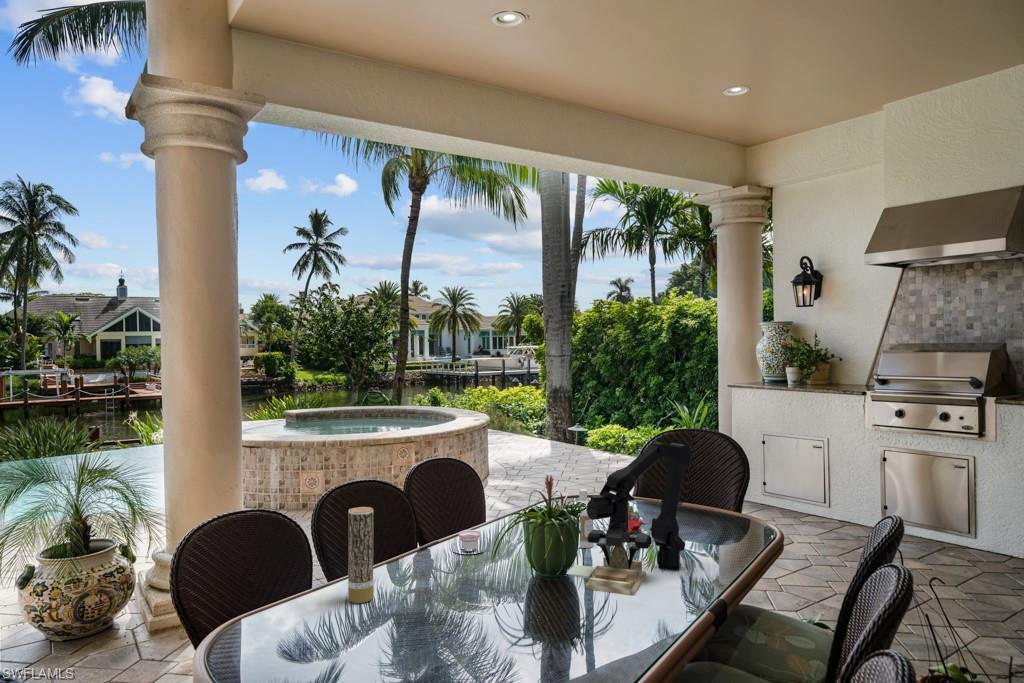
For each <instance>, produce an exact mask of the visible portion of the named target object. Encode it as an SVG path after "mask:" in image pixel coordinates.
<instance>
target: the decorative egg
mask: <svg viewBox="0 0 1024 683" xmlns="http://www.w3.org/2000/svg"><path fill="white" fill-rule="evenodd" d="M610 556H611V557H610V567H612V568H621V569H629V565H628V564H629V555H628V552H627V550H626V548H625V546H624V545H622V546H621V547H617V546H613V548H612V551H611V552H610Z"/></svg>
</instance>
